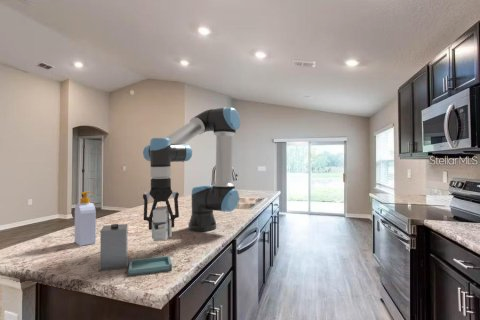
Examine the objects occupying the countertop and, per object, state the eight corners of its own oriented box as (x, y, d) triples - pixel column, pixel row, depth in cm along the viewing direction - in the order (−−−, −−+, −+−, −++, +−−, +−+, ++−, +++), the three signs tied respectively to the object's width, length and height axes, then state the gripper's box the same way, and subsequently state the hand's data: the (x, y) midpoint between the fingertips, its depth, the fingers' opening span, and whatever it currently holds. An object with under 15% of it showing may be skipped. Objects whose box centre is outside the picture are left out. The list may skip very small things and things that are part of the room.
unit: (128, 258, 104) (128, 221, 104) (127, 267, 95) (127, 226, 95) (102, 261, 101) (102, 222, 101) (98, 271, 92) (98, 228, 92)
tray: (169, 260, 102) (169, 255, 102) (171, 270, 93) (171, 265, 93) (130, 265, 97) (130, 260, 97) (128, 275, 88) (128, 270, 88)
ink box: (157, 234, 111) (157, 205, 111) (170, 234, 112) (169, 205, 112) (152, 241, 103) (152, 210, 103) (166, 241, 103) (165, 209, 103)
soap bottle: (97, 243, 123) (97, 192, 123) (80, 246, 119) (80, 193, 118) (91, 239, 130) (91, 190, 130) (74, 242, 125) (74, 191, 125)
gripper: (183, 176, 113) (184, 231, 114) (135, 177, 107) (136, 236, 108) (186, 177, 106) (187, 236, 107) (134, 179, 100) (135, 242, 101)
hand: (161, 236), depth 107 cm, fingers closed on ink box, 6 cm apart
